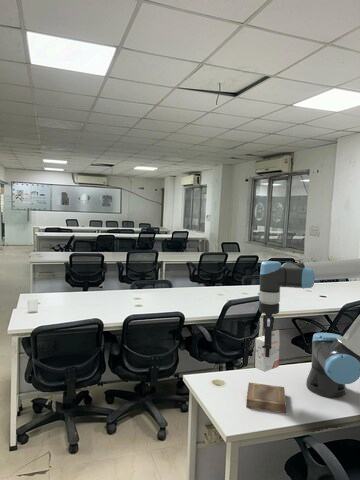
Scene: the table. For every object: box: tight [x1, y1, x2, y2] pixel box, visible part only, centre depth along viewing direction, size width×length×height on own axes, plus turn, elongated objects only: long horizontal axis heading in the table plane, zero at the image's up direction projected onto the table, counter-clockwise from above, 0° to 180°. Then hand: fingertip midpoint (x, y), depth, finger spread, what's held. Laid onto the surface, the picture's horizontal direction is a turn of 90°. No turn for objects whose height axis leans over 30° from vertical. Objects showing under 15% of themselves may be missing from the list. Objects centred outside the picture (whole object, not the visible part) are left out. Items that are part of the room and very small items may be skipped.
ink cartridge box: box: [254, 329, 280, 373], centre depth 134 cm, size 9×5×15 cm, turn 126°
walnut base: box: [245, 382, 287, 414], centre depth 135 cm, size 14×14×3 cm
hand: (267, 359), depth 134 cm, fingers closed on ink cartridge box, 9 cm apart
